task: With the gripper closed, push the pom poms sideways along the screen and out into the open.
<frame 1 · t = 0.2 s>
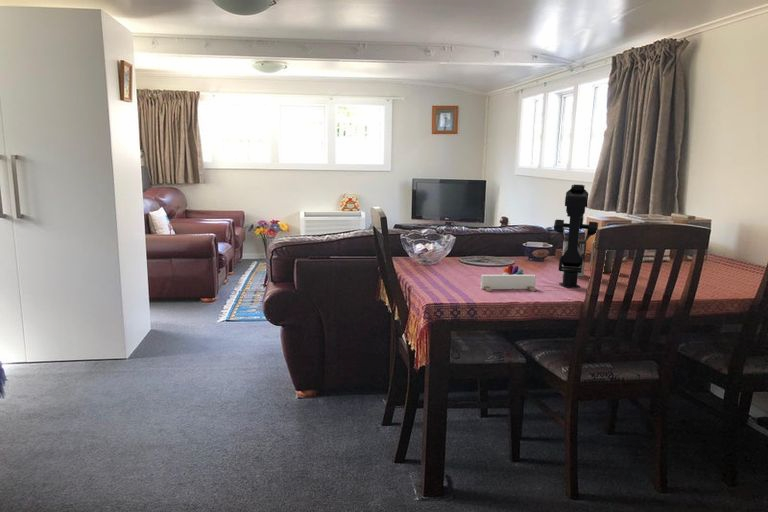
hand: (574, 240, 247), 15 cm above the table, tool tilted 30°, fingers open, 9 cm apart
coffee box: (572, 275, 243), on the table
pom poms: (513, 282, 227), on the table
pillar candle: (600, 271, 253), on the table
screen: (507, 288, 213), on the table
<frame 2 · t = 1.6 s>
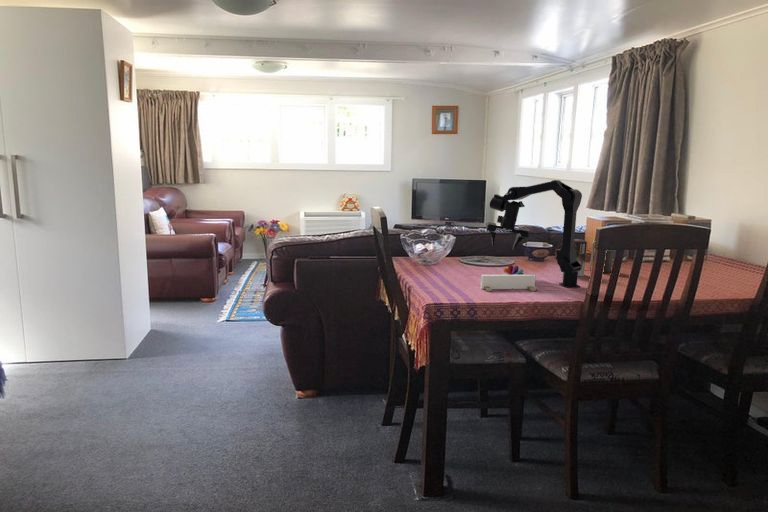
hand: (502, 247, 240), 12 cm above the table, tool pointing down, fingers open, 9 cm apart
nothing on the table moved.
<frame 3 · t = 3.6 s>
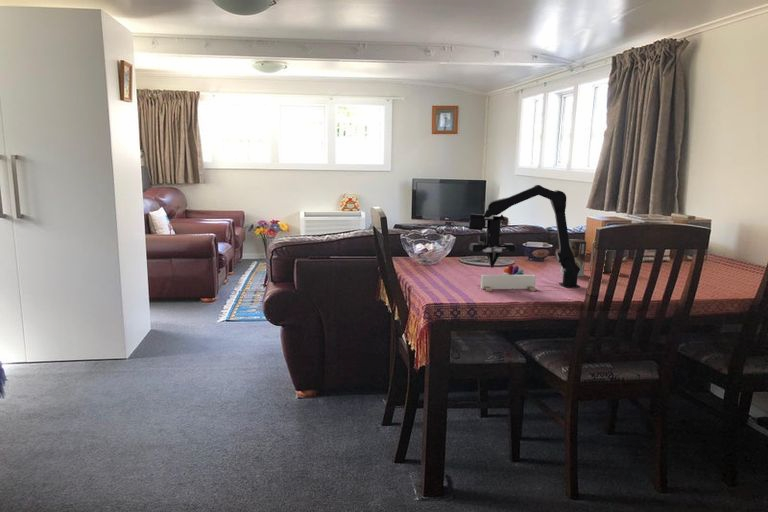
hand: (491, 267, 225), 6 cm above the table, tool pointing down, fingers closed
nothing on the table moved.
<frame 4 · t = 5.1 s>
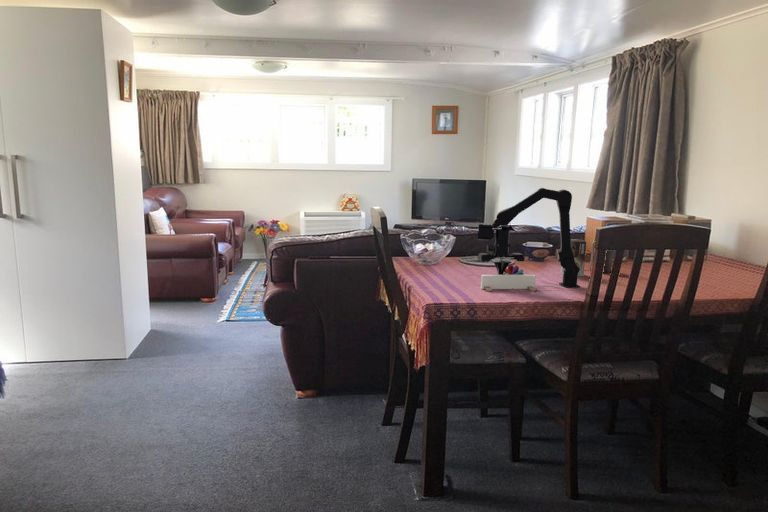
hand: (500, 277, 226), 2 cm above the table, tool pointing down, fingers closed
pom poms: (513, 282, 227), on the table, touching gripper
everything else where it was.
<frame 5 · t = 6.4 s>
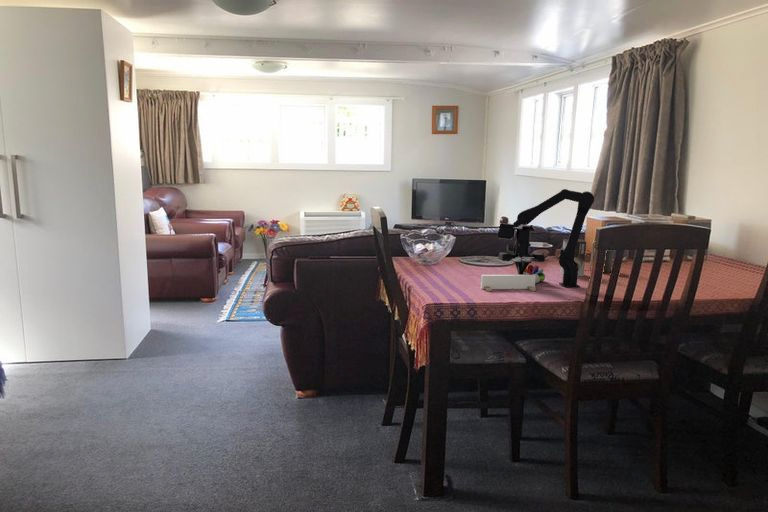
hand: (520, 276, 227), 2 cm above the table, tool pointing down, fingers closed
pom poms: (533, 281, 227), on the table
everything else where it was.
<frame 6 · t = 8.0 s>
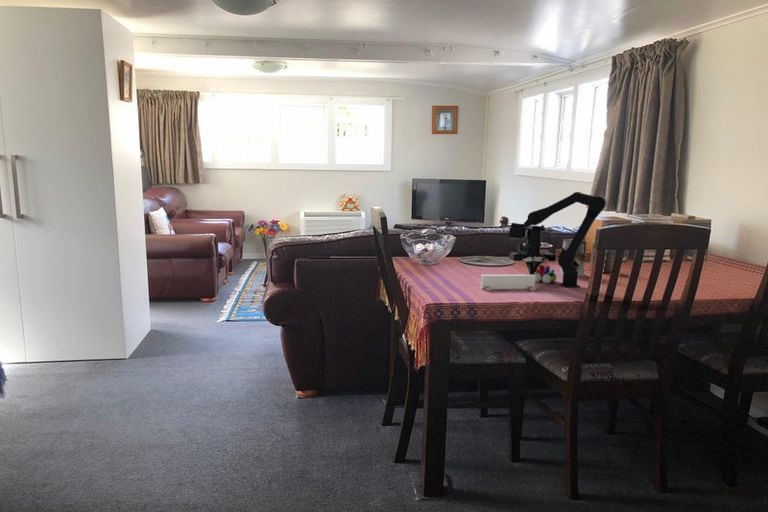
hand: (531, 276, 227), 2 cm above the table, tool pointing down, fingers closed
pom poms: (544, 282, 228), on the table
everything else where it was.
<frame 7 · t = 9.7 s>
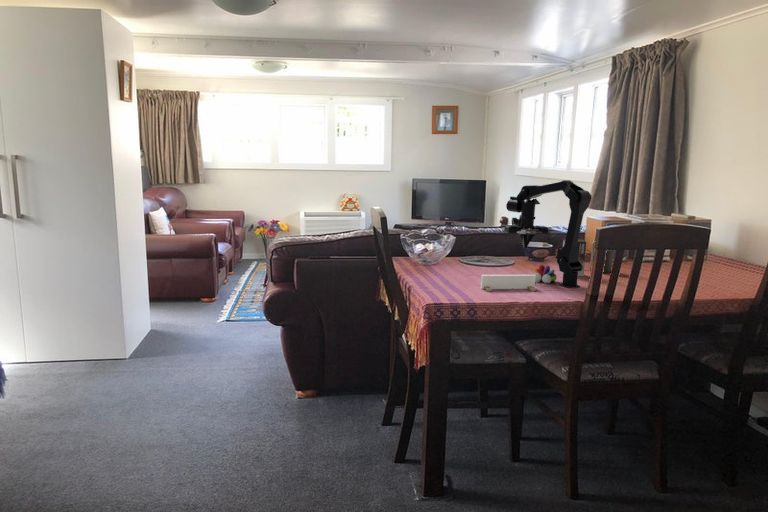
hand: (524, 248, 237), 12 cm above the table, tool pointing down, fingers closed
nothing on the table moved.
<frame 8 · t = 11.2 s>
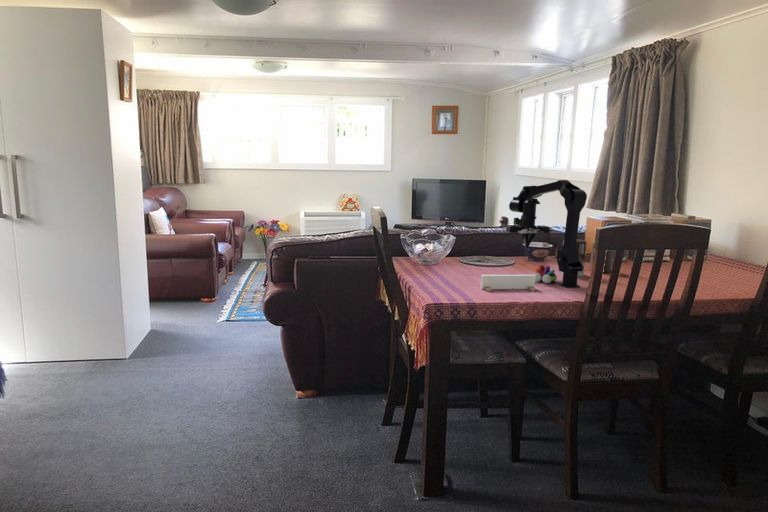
hand: (526, 247, 241), 12 cm above the table, tool pointing down, fingers closed
nothing on the table moved.
at the end: pom poms inside the target area (0.9 cm from its centre), on the table; pom poms tilted 0° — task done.
